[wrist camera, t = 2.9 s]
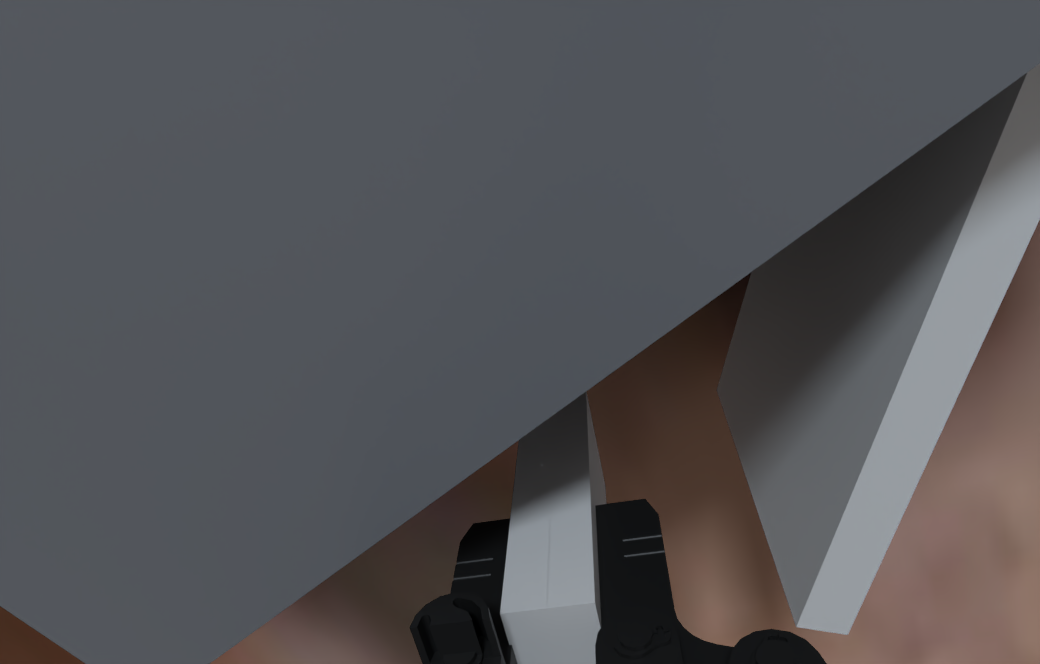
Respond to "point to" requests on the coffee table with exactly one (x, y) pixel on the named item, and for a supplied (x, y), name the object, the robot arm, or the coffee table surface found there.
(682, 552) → the coffee table surface
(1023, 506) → the coffee table surface
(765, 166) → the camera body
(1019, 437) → the coffee table surface
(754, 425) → the side door
